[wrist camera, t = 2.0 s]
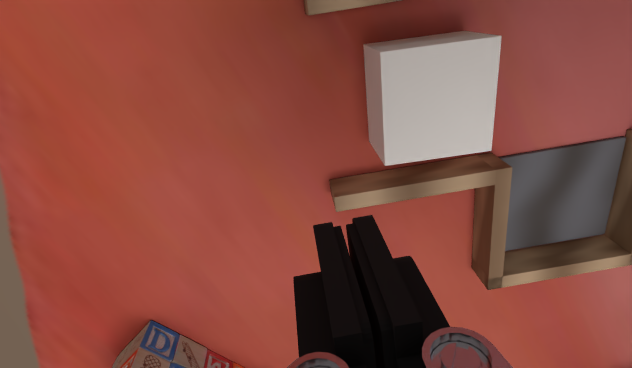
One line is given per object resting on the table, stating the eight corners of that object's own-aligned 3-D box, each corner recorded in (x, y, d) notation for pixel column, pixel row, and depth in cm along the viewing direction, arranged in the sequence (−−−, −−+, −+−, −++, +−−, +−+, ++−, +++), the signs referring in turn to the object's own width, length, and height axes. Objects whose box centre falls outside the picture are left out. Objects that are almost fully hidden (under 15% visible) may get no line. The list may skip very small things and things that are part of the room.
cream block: (463, 30, 26) (501, 35, 22) (458, 128, 29) (491, 150, 25) (362, 43, 26) (380, 52, 21) (368, 140, 29) (384, 165, 24)
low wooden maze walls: (918, -317, 20) (1016, -366, 18) (716, 225, 35) (753, 243, 33) (272, -220, 20) (271, -255, 17) (344, 289, 35) (350, 313, 32)
